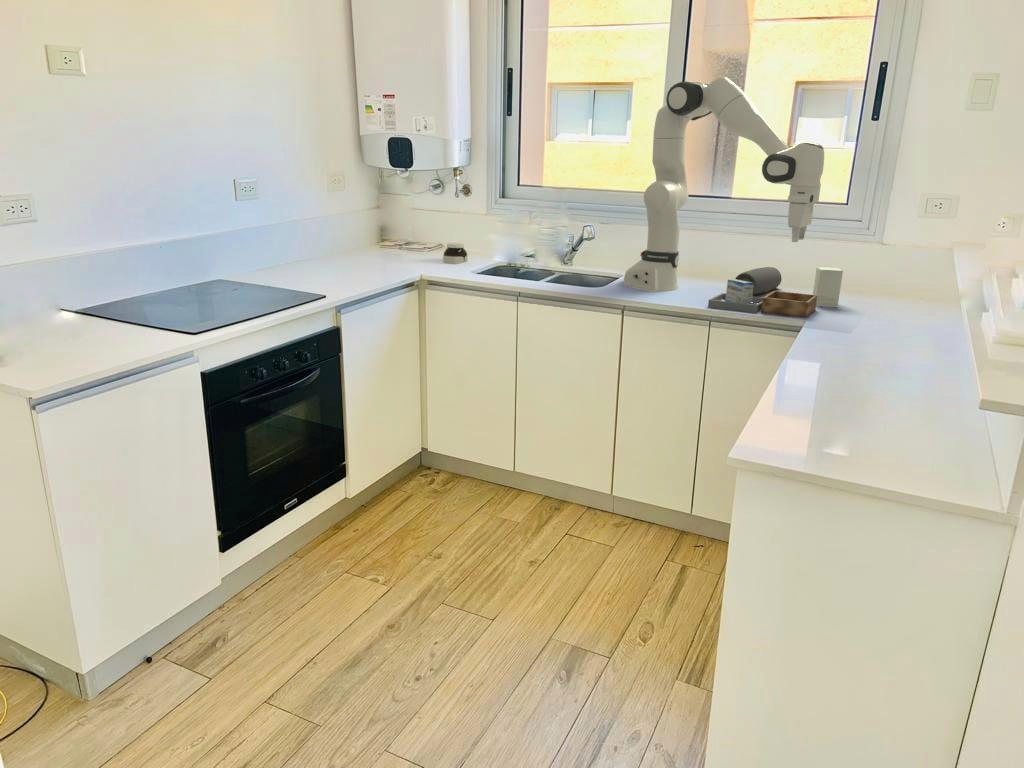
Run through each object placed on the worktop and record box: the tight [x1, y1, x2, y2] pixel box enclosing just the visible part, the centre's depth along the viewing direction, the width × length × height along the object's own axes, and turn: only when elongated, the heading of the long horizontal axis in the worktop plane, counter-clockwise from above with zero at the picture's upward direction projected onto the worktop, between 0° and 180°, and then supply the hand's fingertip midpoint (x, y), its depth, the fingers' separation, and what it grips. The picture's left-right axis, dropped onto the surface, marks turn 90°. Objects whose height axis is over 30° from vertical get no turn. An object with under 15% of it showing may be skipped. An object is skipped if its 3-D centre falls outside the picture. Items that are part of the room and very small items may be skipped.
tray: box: [707, 292, 763, 314], centre depth 252 cm, size 16×16×2 cm
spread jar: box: [442, 242, 468, 265], centre depth 311 cm, size 12×11×12 cm
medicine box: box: [724, 278, 754, 304], centre depth 252 cm, size 8×4×9 cm, turn 29°
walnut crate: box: [760, 290, 817, 319], centre depth 246 cm, size 14×16×5 cm
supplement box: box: [812, 266, 844, 308], centre depth 257 cm, size 7×7×13 cm
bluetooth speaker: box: [734, 266, 783, 297], centre depth 272 cm, size 23×9×10 cm, turn 139°
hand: (797, 240), depth 240 cm, fingers open, 8 cm apart
